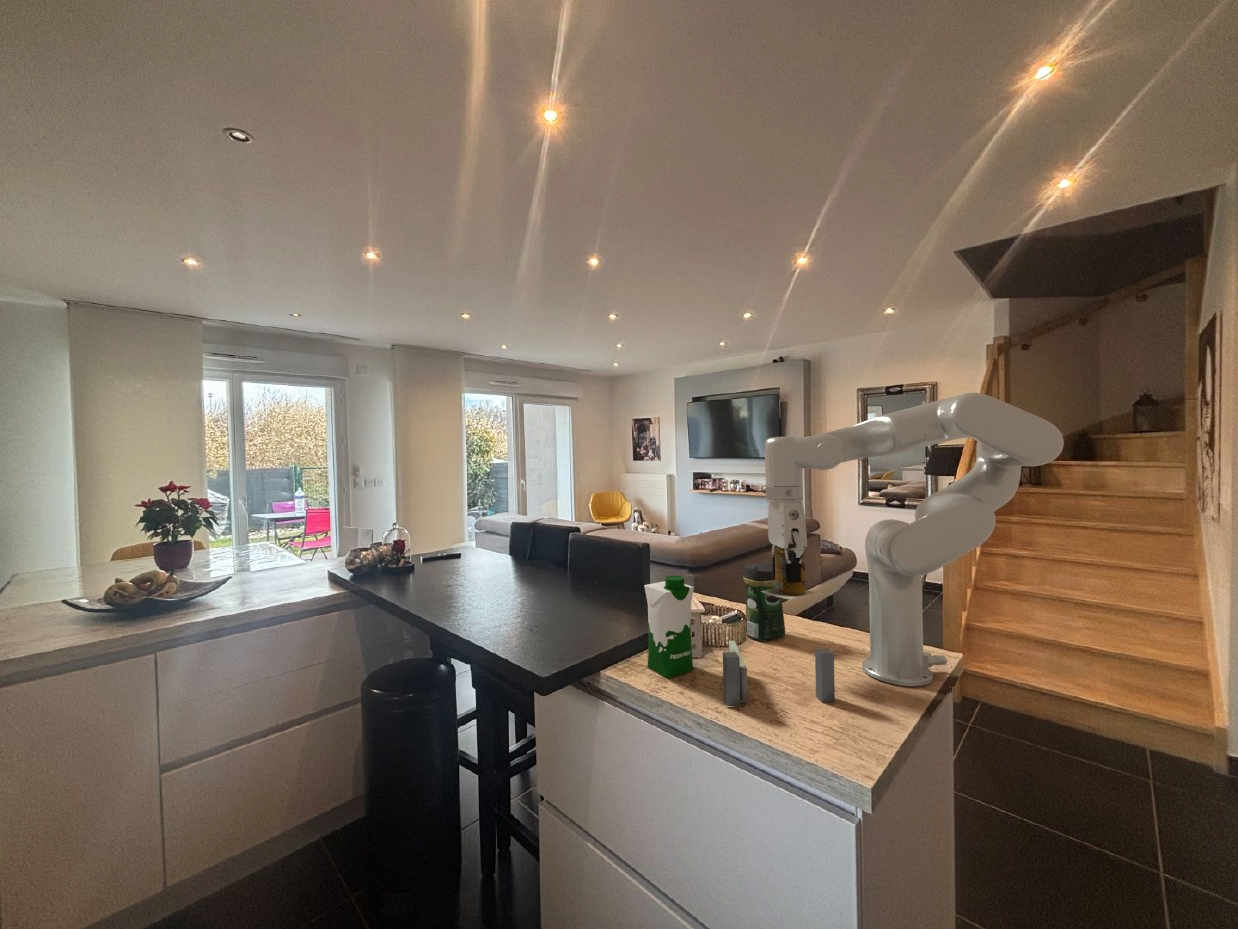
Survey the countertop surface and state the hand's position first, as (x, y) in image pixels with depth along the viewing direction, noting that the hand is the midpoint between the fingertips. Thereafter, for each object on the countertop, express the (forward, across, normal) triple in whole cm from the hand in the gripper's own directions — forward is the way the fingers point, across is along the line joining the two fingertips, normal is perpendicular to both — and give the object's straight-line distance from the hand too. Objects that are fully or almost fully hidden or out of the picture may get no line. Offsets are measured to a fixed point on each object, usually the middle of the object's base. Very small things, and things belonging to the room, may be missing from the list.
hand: (786, 577), depth 103 cm
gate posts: (+19, -14, +8) cm, 25 cm away
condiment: (+3, 0, 0) cm, 3 cm away
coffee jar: (+20, +19, -2) cm, 27 cm away
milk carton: (+19, +2, +25) cm, 32 cm away
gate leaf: (+19, -8, +13) cm, 24 cm away
